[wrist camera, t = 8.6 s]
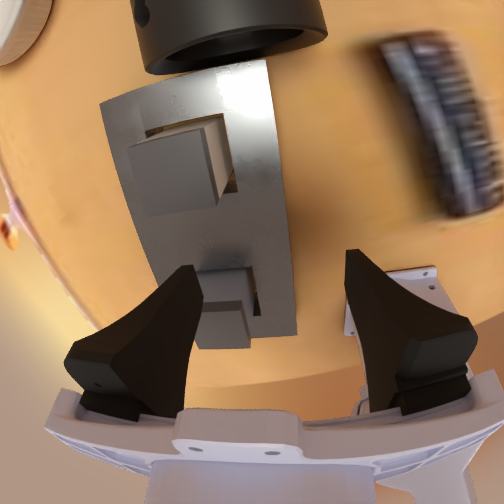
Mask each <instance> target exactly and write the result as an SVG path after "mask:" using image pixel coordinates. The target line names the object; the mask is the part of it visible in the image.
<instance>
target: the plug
mask: <svg viewBox="0 0 504 504" xmlns="http://www.w3.org/2000/svg"><path fill="white" fill-rule="evenodd" d="M126 150H127V154H128V158H129V161H130V165H131V168H132V172H133V175H134V178H135V182H136V185H137V188H138V191H139V195H140V198H141V201H142V204H143V207H144V210H145V213H146V216H147V218H148V217H154V216H160V215H166V214H172V213H179V212H185V211H192V210H198V209H205V208H212V207H217V204H218V202H219V200H220V198H221V195H222V193H223V191H224V189H225V186H226V184H227V182H228V180H229V178H230V175H231V173H232V171H233V163H232V158H231V153H230V148H229V142H228V137H227V132H226V127H225V121H224V116H222V117H217V118H212V119H207V120H202V121H197V122H193V123H188V124H184V125H180V126H176V127H172V128H169V129H167V130H164V131H162V132H160V133H158V134H155V135H153V136H151V137H149V138H147V139H145V140H143V141H141V142H139V143H137V144H135V145H133V146H131V147H129V148H127V149H126Z"/></svg>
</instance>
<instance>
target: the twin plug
mask: <svg viewBox="0 0 504 504" xmlns="http://www.w3.org/2000/svg"><path fill="white" fill-rule="evenodd" d="M197 277H198V281H199V284H200V286H201V289H202V292H203V295H204V299H203V307H202V313H201V317H200V321H199V324H198V328H197V331H196V335H195V338H194V340H195V342H196V344H197V346H198V348H199V349H244V348H250V346H251V335H252V323H253V312H254V300H255V283H254V278H253V272H252V267H251V266H250V267H239V268H227V269H215V270H203V271H197Z"/></svg>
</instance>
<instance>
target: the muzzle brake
mask: <svg viewBox="0 0 504 504" xmlns="http://www.w3.org/2000/svg"><path fill="white" fill-rule="evenodd" d="M130 3H131V8H132V13H133V18H134V23H135V28H136V33H137V37H138V42H139V46H140V51H141V55H142V59H143V64H144V68H145V71H146V72H147V73H150V74H154V75H168V74H176V73H183V72H188V71H194V70H199V69H205V68H210V67H215V66H220V65H225V64H230V63H235V62H239V61H244V60H249V59H255V58H260V57H265V56H270V55H275V54H279V53H284V52H289V51H293V50H297V49H301V48H305V47H308V46H312V45H315V44H317V43H320V42H321V41H323V40H324V39H325V38H326V37H327V35H328V32H327V28H326V24H325V20H324V16H323V12H322V9H321V5H320V2H319V0H130Z"/></svg>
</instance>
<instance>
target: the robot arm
mask: <svg viewBox="0 0 504 504" xmlns="http://www.w3.org/2000/svg"><path fill="white" fill-rule="evenodd" d="M437 272H438V270H437V268H436V267H426V268H419V269H412V270H404V271H396V272H388V273H385V272H383V271H382V270H381V269H380V268H379V267H378V266H377V265H375V264H374V263H373V262H372V261H371V260H370V259H369V258H368V257H367V256H366V255H365V254H364V253H363V252H361V251H360V250H359V249H352V250H346V263H345V283H344V286H345V291H346V296H347V302H346V313H345V323H344V335H345V336H356V340H357V344H358V348H359V352H360V357H361V361H362V366H363V370H364V375H365V380H366V385H365V386H363V387H361V388H360V395H361V400H360V401H358V402H357V403H355V405H354V406H353V409H352V412H351V416H349V417H342V418H334V419H326V420H316V421H304V422H302V420H301V419H300V418H299V417H298V416H297V415H296V414H294V413H291V412H288V411H285V410H273V409H211V408H186V409H184V397H185V386H186V377H187V369H188V363H189V357H190V353H191V349H192V345H193V342H194V338H195V335H196V331H197V328H198V324H199V321H200V317H201V313H202V307H203V299H204V295H203V292H202V289H201V286H200V284H199V281H198V277H197V274H196V271H195V268H194V265H193V264H192V265H182V266H180V267H179V268H178V269H177V270H176V271H175V272H174V273H173V274H172V275H171V276H170V277H169V278H168V279H167V280H166V281H165V282H164V283H162V284H161V285H160V286H159V287H158V288H157V289H156V290H155V291H154V292H153V293H152V294H151V295H150V296H149V297H148V298H146V299H145V300H144V301H143V302H142V303H141V304H140V305H138V306H137V307H136V308H134V309H133V310H132V311H130V312H129V313H128V314H126V315H125V316H123V317H122V318H120V319H119V320H117V321H116V322H114V323H113V324H111V325H109V326H108V327H106V328H104V329H102V330H100V331H98V332H96V333H94V334H92V335H90V336H87V337H85V338H83V339H81V340H78V341H75V342H74V343H73V345H72V347H71V349H70V351H69V353H68V354H67V356H66V358H65V360H64V366H65V368H66V370H67V372H68V373H69V374H70V375H71V377H72V378H73V379H75V381H76V382H77V383H78V384H79V385H80V386H81V387H82V388H83V389H84V392H83V395H81V394H79V393H77V392H75V391H71V390H68V389H65V388H61V389H60V392H59V394H58V396H57V398H56V400H55V402H54V405H53V407H52V409H51V411H50V414H49V416H48V418H47V421H46V423H45V426H44V429H45V430H47V431H48V432H49V433H51V434H52V435H54V436H55V437H56V438H58V439H60V440H61V441H63V442H64V443H65V444H67V445H68V446H70V447H71V448H73V449H74V450H76V451H79V452H81V453H84V454H86V455H88V456H91V457H93V458H96V459H99V460H101V461H104V462H106V463H109V464H111V465H114V466H117V467H120V468H123V469H126V470H128V471H132V472H135V473H138V474H141V475H144V476H148V477H150V478H149V482H148V487H147V491H146V496H145V501H144V504H376V500H375V487H374V482H377V483H378V484H381V485H384V486H388V487H391V488H395V489H400V490H404V491H407V492H410V493H412V495H413V498H414V501H415V504H478V502H477V497H476V494H475V489H474V486H473V482H472V478H471V475H470V471H469V467H468V464H469V462H470V461H471V459H472V458H473V456H474V455H475V453H476V452H477V451H478V449H479V448H480V446H481V444H482V443H483V441H484V440H485V439H486V438H487V437H488V436H490V435H491V434H492V433H493V432H495V431H496V430H497V429H498V428H500V427H501V426H502V425H503V424H504V392H503V389H502V387H501V384H500V382H499V379H498V377H497V375H496V373H495V370H494V369H490V370H487V371H485V372H483V373H480V374H477V375H475V376H474V375H473V373H472V371H471V369H470V367H469V364H468V363H467V360H468V359H469V357H470V356H471V354H472V352H473V351H474V349H475V347H476V345H477V341H478V336H477V333H476V331H475V330H474V328H473V326H472V324H471V322H470V321H469V319H468V318H467V317H464V316H461V315H459V314H458V312H457V310H456V308H455V307H454V305H453V303H452V302H451V300H450V298H449V297H448V295H447V293H446V292H445V290H444V288H443V287H442V285H441V284H440V282H439V281H438V279H437V277H436V276H437Z"/></svg>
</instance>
